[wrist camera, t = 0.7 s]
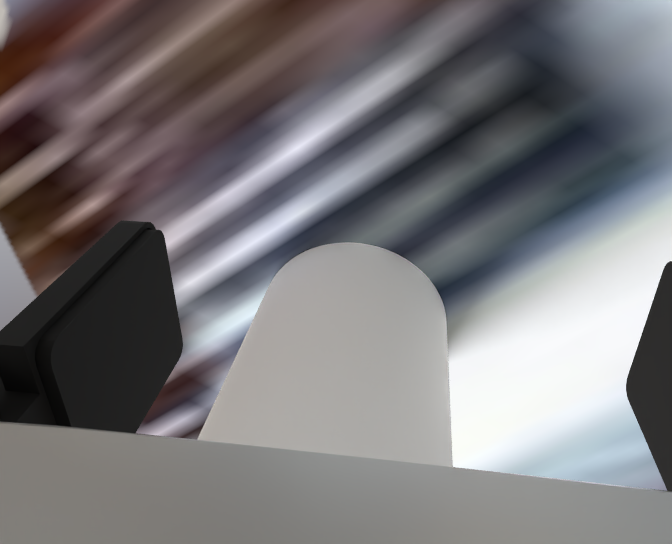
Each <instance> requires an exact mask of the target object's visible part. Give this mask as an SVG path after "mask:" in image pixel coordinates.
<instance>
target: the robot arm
mask: <svg viewBox="0 0 672 544" xmlns="http://www.w3.org/2000/svg"><path fill="white" fill-rule="evenodd" d="M182 347H183V341H182V334H181V328H180V323H179V317H178V311H177V306H176V300H175V294H174V289H173V283H172V277H171V272H170V266H169V260H168V255H167V249H166V243H165V238H164V235H163V233H162V231H160V230H156V229H155V227H154V225H153V224H152V223H151V222H136V221H120V222H119V223H117V224H116V225H115V226H114V227H113V228H112V229H111V230H110V231H109V232H108V233H106V234H105V235H104V236H103V237H102V238H101V239H100V240H99V241H98V242H97V243H96V244H94V245H93V246H92V247H91V248H90V249H89V250H88V251H87V252H86V253H85V254H84V255H83V256H81V257H80V258H79V259H78V260H77V261H76V262H75V263H74V264H73V265H72V266H71V267H69V268H68V269H67V270H66V271H65V272H64V273H63V274H62V275H61V276H60V277H59V278H57V279H56V280H55V281H54V282H53V283H52V284H51V285H50V286H49V287H48V288H47V289H46V290H44V291H43V292H42V293H41V294H40V295H39V296H38V297H37V298H36V299H35V300H34V301H33V302H31V303H30V304H29V305H28V306H27V307H26V308H25V309H24V310H23V311H22V312H20V313H19V314H18V315H17V316H16V317H15V318H14V319H13V320H12V321H11V322H10V323H9V324H8V325H6V326H5V327H4V328H3V329H2V330H1V331H0V544H672V261H670V262H668V263H667V264H666V266H665V268H664V270H663V273H662V276H661V279H660V282H659V285H658V288H657V291H656V294H655V297H654V300H653V303H652V306H651V309H650V312H649V315H648V318H647V321H646V324H645V327H644V330H643V333H642V336H641V339H640V342H639V345H638V348H637V351H636V353H635V356H634V359H633V362H632V365H631V368H630V371H629V374H628V378H627V383H626V392H627V397H628V400H629V402H630V405H631V407H632V409H633V412H634V414H635V416H636V419H637V421H638V423H639V426H640V428H641V430H642V432H643V435H644V437H645V439H646V442H647V444H648V446H649V449H650V451H651V453H652V456H653V458H654V460H655V463H656V465H657V467H658V470H659V472H660V474H661V477H662V479H663V481H664V483H665V486H666V488H667V490H668V491H664V490H655V489H646V488H637V487H628V486H619V485H610V484H602V483H593V482H584V481H575V480H566V479H557V478H548V477H539V476H530V475H520V474H511V473H502V472H493V471H483V470H474V469H465V468H456V467H447V466H437V465H428V464H419V463H410V462H401V461H392V460H382V459H373V458H364V457H354V456H345V455H335V454H326V453H316V452H307V451H298V450H288V449H279V448H270V447H260V446H251V445H242V444H233V443H223V442H214V441H204V440H194V439H185V438H175V437H165V436H155V435H145V434H136V431H137V429H138V428H139V426H140V424H141V423H142V421H143V419H144V418H145V416H146V414H147V412H148V411H149V409H150V407H151V406H152V404H153V402H154V401H155V399H156V397H157V396H158V394H159V392H160V391H161V389H162V387H163V385H164V384H165V382H166V380H167V379H168V377H169V375H170V374H171V372H172V370H173V369H174V367H175V365H176V364H177V362H178V360H179V358H180V356H181V353H182Z"/></svg>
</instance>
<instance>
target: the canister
mask: <svg viewBox="0 0 672 544" xmlns="http://www.w3.org/2000/svg"><path fill="white" fill-rule="evenodd" d="M197 440H204V441H214V442H223V443H233V444H242V445H251V446H260V447H270V448H279V449H288V450H298V451H307V452H316V453H326V454H335V455H345V456H354V457H364V458H373V459H382V460H392V461H401V462H410V463H419V464H428V465H437V466H447V467H453V465H452V440H451V416H450V391H449V367H448V342H447V319H446V312H445V308H444V305H443V302H442V299H441V297H440V295H439V293H438V291H437V289H436V288H435V286H434V285H433V283H432V282H431V281H430V279H429V278H428V277H427V276H426V275H425V274H424V273H423V272H422V271H421V270H420V269H419V268H418V267H416V266H415V265H414V264H413V263H411V262H410V261H408V260H407V259H405V258H403V257H402V256H400V255H398V254H396V253H394V252H391V251H389V250H387V249H384V248H381V247H377V246H373V245H369V244H363V243H352V242H343V243H332V244H326V245H322V246H318V247H315V248H312V249H309V250H307V251H305V252H303V253H301V254H299V255H297V256H296V257H294V258H293V259H291V260H290V261H289V262H287V263H286V264H285V265H284V266H283V267H282V268H281V269H280V270H279V271H278V272H277V274H276V275H275V276H274V278H273V279H272V281H271V283H270V285H269V287H268V289H267V291H266V293H265V296H264V298H263V300H262V302H261V304H260V306H259V308H258V311H257V313H256V315H255V317H254V319H253V321H252V323H251V326H250V328H249V330H248V332H247V334H246V336H245V338H244V341H243V343H242V345H241V347H240V349H239V351H238V353H237V356H236V358H235V360H234V362H233V364H232V366H231V368H230V371H229V373H228V375H227V377H226V379H225V381H224V383H223V386H222V388H221V390H220V392H219V394H218V396H217V398H216V401H215V403H214V405H213V407H212V409H211V411H210V413H209V416H208V418H207V420H206V422H205V424H204V426H203V428H202V431H201V433H200V435H199V437H198V439H197Z"/></svg>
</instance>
